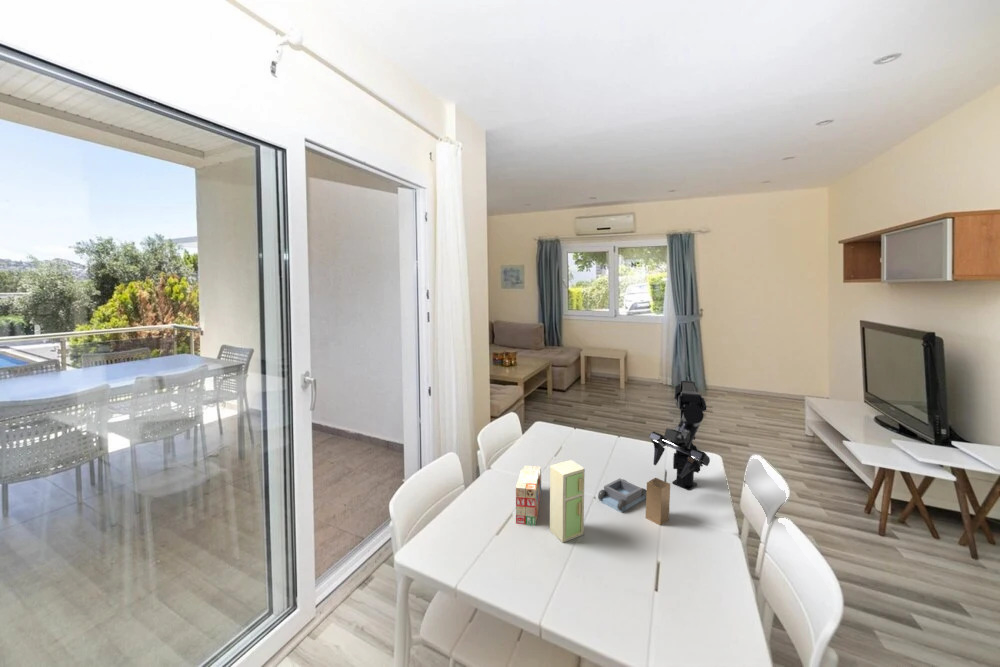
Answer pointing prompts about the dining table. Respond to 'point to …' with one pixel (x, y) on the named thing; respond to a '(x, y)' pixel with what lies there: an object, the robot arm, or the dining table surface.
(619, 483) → the chassis
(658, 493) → the tall tan wooden block
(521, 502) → the stack of blocks
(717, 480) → the dining table surface
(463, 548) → the dining table surface
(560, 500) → the toy refrigerator
